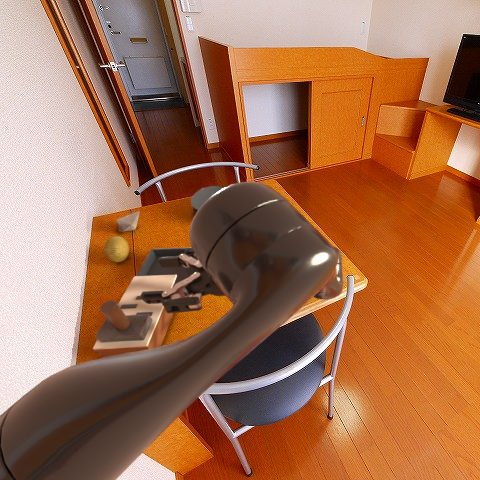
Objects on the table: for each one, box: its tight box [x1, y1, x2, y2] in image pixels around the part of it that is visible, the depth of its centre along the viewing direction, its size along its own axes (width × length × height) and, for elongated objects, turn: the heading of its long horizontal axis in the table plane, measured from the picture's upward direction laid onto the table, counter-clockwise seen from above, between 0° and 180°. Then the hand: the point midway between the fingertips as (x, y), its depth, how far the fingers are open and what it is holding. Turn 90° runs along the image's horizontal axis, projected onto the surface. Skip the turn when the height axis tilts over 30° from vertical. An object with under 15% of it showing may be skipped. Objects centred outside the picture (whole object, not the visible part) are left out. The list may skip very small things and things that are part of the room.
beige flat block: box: [92, 275, 177, 358], centre depth 68 cm, size 20×11×6 cm, turn 5°
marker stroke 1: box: [120, 304, 138, 309], centre depth 66 cm, size 1×4×1 cm, turn 95°
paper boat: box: [116, 209, 140, 233], centre depth 97 cm, size 12×6×9 cm
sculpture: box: [104, 235, 130, 263], centre depth 84 cm, size 8×4×8 cm, turn 8°
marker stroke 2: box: [136, 312, 153, 316], centre depth 65 cm, size 1×4×1 cm, turn 95°
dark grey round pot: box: [190, 185, 224, 215], centre depth 106 cm, size 14×18×8 cm
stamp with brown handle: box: [94, 299, 153, 342], centre depth 59 cm, size 5×9×9 cm, turn 95°
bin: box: [135, 247, 199, 294], centre depth 81 cm, size 17×14×3 cm
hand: (152, 278), depth 52 cm, fingers open, 8 cm apart
